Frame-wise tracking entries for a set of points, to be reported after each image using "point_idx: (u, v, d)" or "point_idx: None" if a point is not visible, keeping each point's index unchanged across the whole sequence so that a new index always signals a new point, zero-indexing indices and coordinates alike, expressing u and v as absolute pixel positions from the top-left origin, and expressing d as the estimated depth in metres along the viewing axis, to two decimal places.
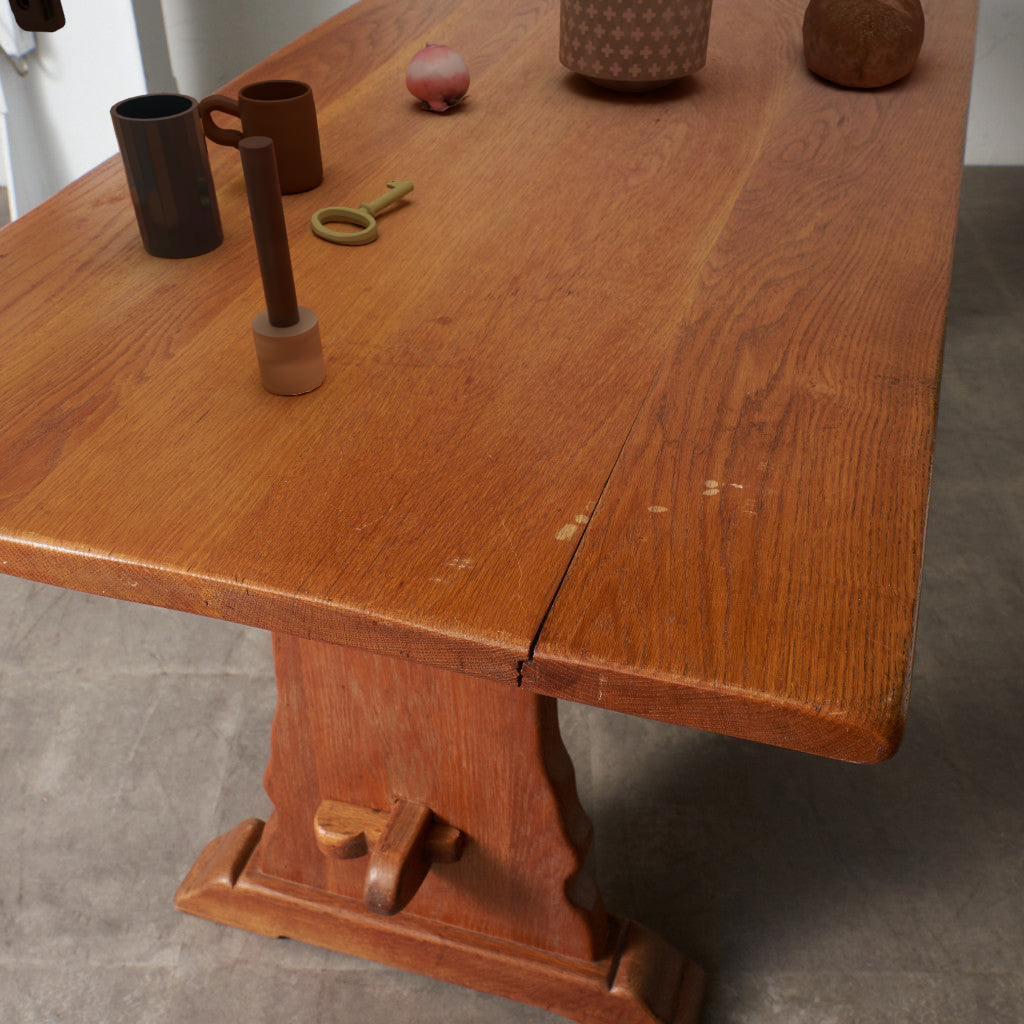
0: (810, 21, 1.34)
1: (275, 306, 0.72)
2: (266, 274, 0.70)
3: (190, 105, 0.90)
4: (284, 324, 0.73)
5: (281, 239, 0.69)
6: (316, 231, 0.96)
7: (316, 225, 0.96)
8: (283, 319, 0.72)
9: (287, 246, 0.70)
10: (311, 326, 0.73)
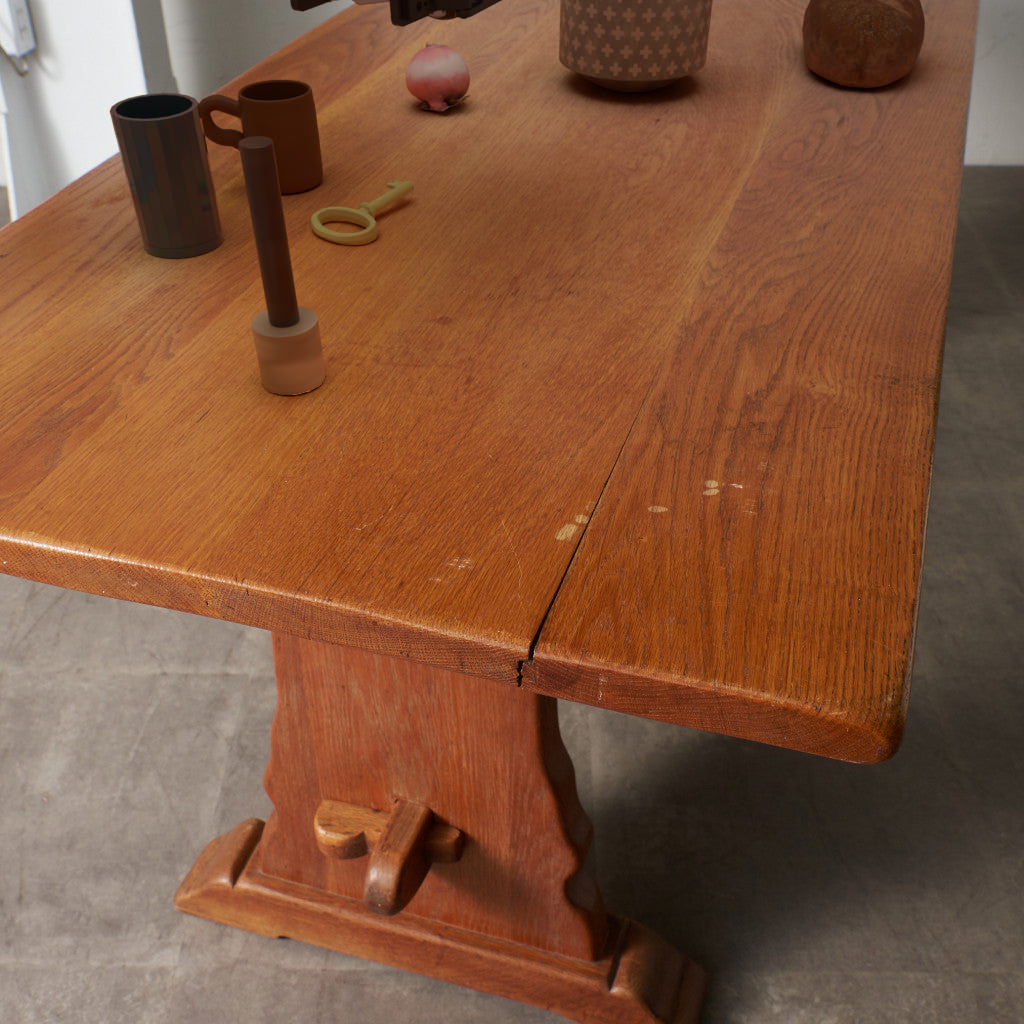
0: (810, 21, 1.34)
1: (275, 306, 0.72)
2: (266, 274, 0.70)
3: (190, 105, 0.90)
4: (284, 324, 0.73)
5: (281, 239, 0.69)
6: (316, 231, 0.96)
7: (316, 225, 0.96)
8: (283, 319, 0.72)
9: (287, 246, 0.70)
10: (311, 326, 0.73)
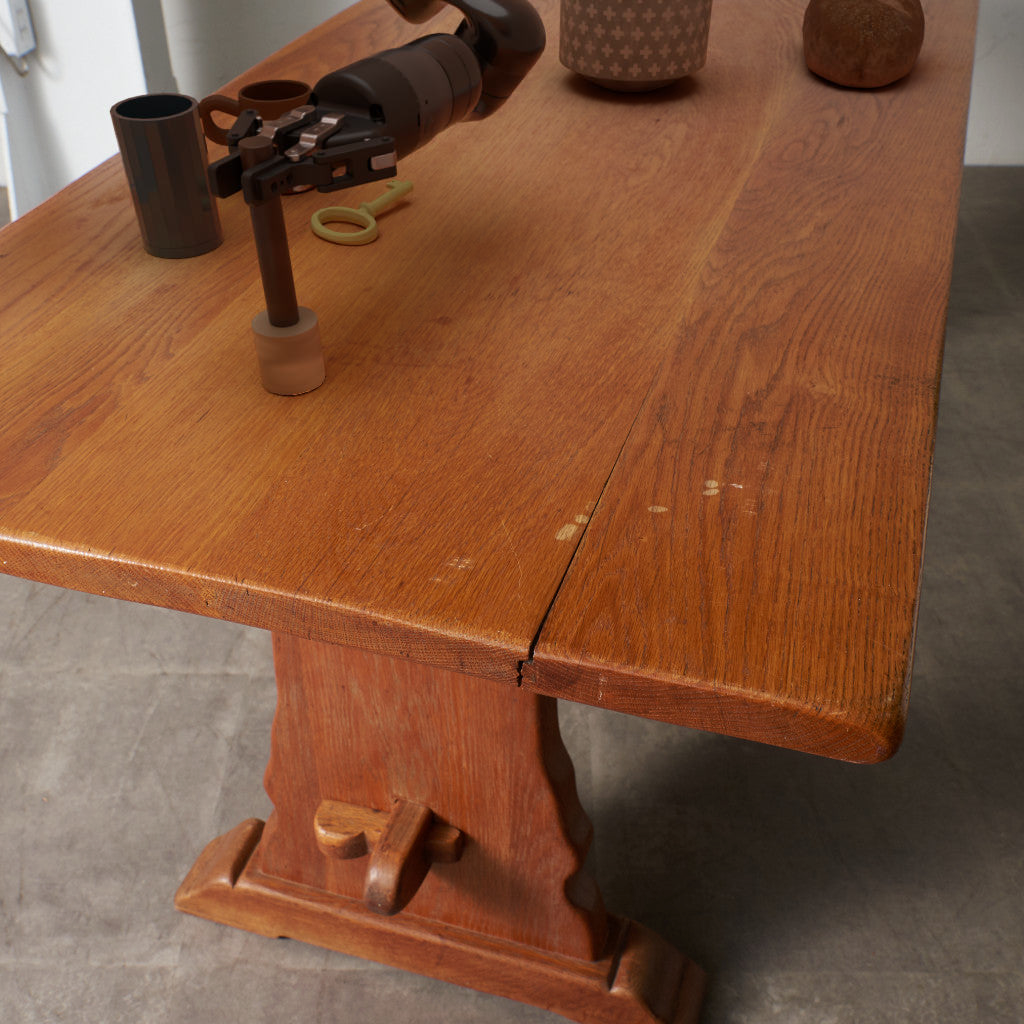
0: (810, 21, 1.34)
1: (275, 306, 0.72)
2: (266, 274, 0.70)
3: (190, 105, 0.90)
4: (284, 324, 0.73)
5: (281, 239, 0.69)
6: (316, 231, 0.96)
7: (316, 225, 0.96)
8: (283, 319, 0.72)
9: (287, 246, 0.70)
10: (311, 326, 0.73)
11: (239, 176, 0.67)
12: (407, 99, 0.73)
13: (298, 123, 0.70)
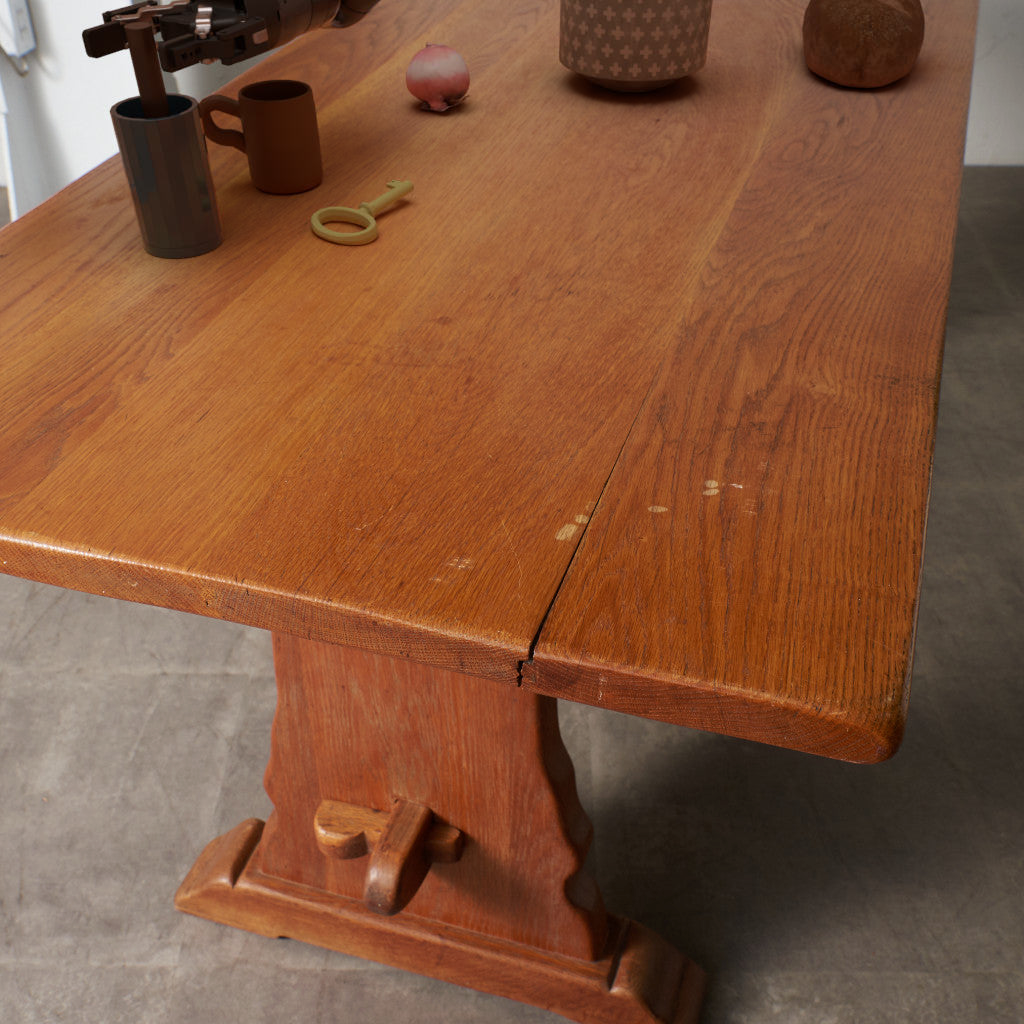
0: (810, 21, 1.34)
1: None
2: None
3: (190, 105, 0.90)
4: None
5: (163, 107, 0.87)
6: (316, 231, 0.96)
7: (316, 225, 0.96)
8: None
9: (168, 114, 0.88)
10: None
11: (109, 42, 0.86)
12: None
13: (167, 11, 0.88)
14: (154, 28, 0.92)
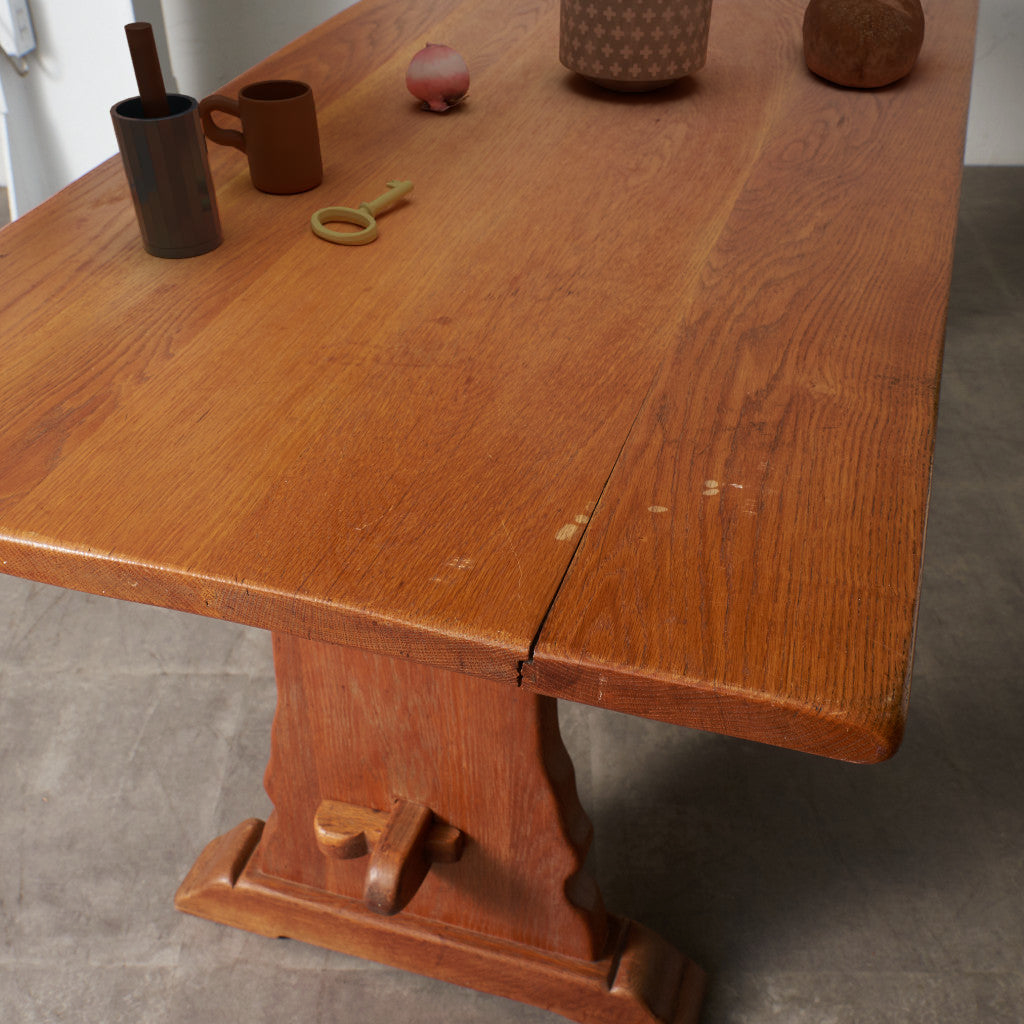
0: (810, 21, 1.34)
1: None
2: None
3: (190, 105, 0.90)
4: None
5: (163, 107, 0.87)
6: (316, 231, 0.96)
7: (316, 225, 0.96)
8: None
9: (168, 114, 0.88)
10: None
11: None
12: None
13: None
14: None
